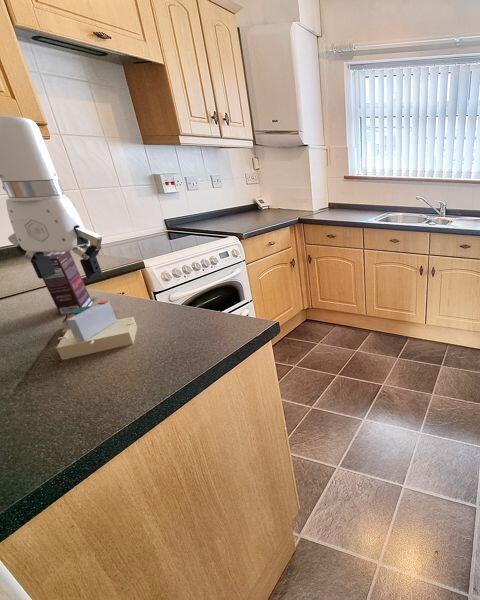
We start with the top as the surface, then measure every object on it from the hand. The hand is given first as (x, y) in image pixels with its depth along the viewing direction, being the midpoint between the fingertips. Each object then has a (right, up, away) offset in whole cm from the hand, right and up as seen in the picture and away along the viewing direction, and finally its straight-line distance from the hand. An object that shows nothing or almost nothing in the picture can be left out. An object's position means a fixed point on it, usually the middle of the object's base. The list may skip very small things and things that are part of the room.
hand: (71, 276), depth 70 cm
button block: (-7, -12, +12) cm, 18 cm away
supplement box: (-19, -8, +21) cm, 29 cm away
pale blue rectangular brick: (+2, -12, +4) cm, 13 cm away
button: (-7, -9, +11) cm, 16 cm away
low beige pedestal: (+2, -15, +6) cm, 16 cm away
